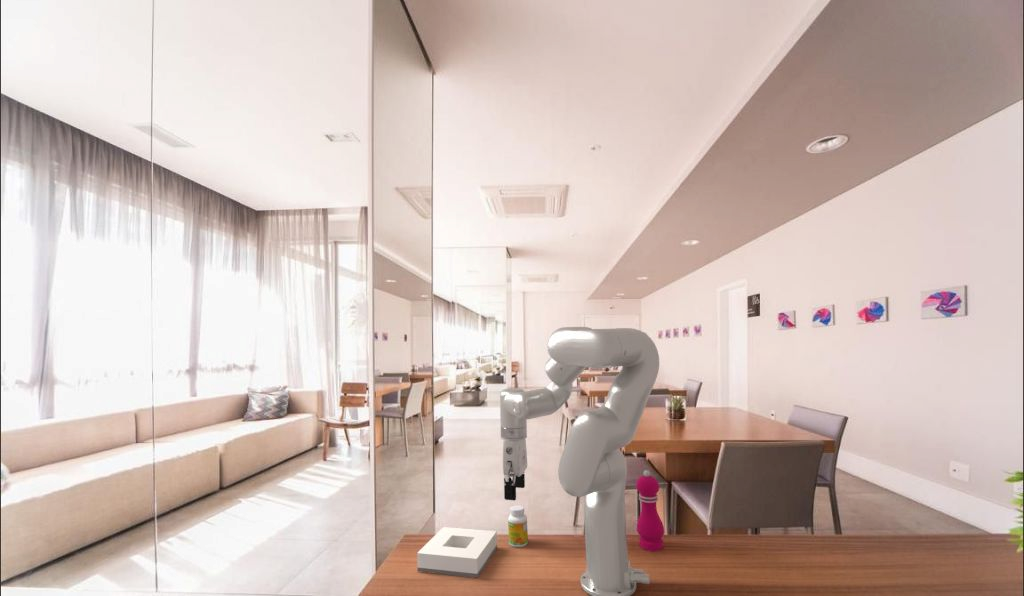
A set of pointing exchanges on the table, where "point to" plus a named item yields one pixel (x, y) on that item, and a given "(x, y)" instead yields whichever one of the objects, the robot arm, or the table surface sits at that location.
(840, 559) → the table surface
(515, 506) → the supplement bottle
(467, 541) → the socket block
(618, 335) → the robot arm
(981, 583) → the table surface
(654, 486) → the pepper mill
